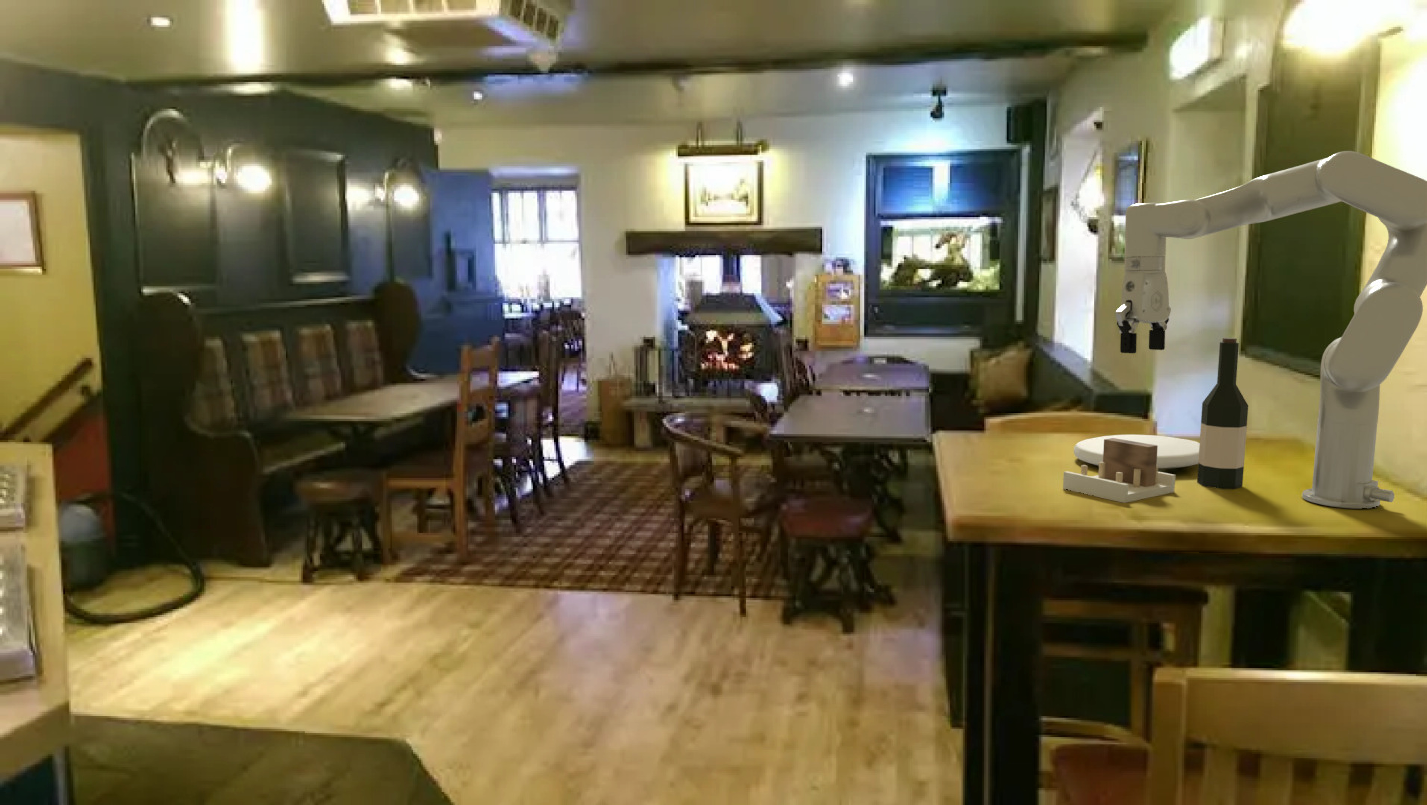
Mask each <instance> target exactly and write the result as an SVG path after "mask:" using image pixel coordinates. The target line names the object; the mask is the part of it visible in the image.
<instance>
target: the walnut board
mask: <svg viewBox="0 0 1427 805" xmlns="http://www.w3.org/2000/svg"><path fill="white" fill-rule="evenodd" d="M1157 447H1158V445H1152V444H1146V443H1140V442H1134V441H1128V440H1122V439H1117V438H1110V439H1104V451H1103V462H1105V479H1110V480H1115V481H1116V472H1122V473H1123V480H1122V482H1124V483H1129V484H1133V480H1134V469H1141V474H1140V486H1143V487H1149V486H1154V485H1155V480H1156V464H1157Z"/></svg>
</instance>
